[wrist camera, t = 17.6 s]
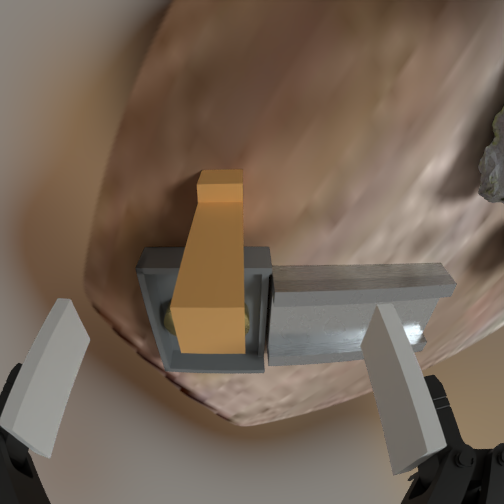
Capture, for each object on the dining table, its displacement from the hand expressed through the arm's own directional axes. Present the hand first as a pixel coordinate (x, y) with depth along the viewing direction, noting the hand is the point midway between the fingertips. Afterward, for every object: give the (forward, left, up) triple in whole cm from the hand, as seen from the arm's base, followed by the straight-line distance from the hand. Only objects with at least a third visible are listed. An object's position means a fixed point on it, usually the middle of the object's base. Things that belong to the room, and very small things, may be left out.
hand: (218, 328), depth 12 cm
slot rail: (+11, +13, -13) cm, 22 cm away
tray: (+11, -2, -13) cm, 18 cm away
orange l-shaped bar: (0, 0, -13) cm, 13 cm away
